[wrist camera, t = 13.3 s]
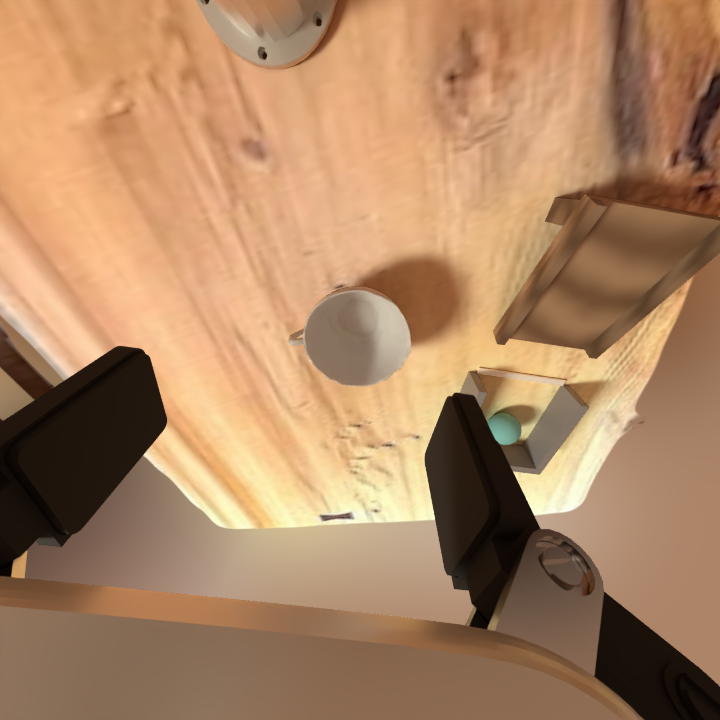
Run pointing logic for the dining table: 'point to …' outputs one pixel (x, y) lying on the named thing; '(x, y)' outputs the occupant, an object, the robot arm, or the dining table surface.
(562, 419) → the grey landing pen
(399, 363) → the teacup
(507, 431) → the teal rubber ball
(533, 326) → the walnut ramp
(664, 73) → the dining table surface
